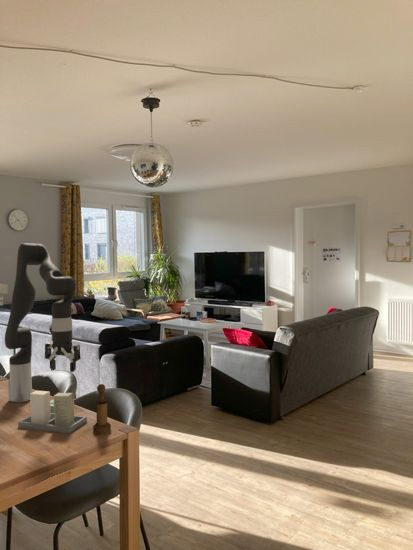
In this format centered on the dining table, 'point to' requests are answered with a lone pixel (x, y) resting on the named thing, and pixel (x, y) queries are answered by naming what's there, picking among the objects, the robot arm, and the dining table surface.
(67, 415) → the skincare box
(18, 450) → the dining table surface
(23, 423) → the two-section gray tray
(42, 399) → the block
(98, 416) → the brown chess piece
